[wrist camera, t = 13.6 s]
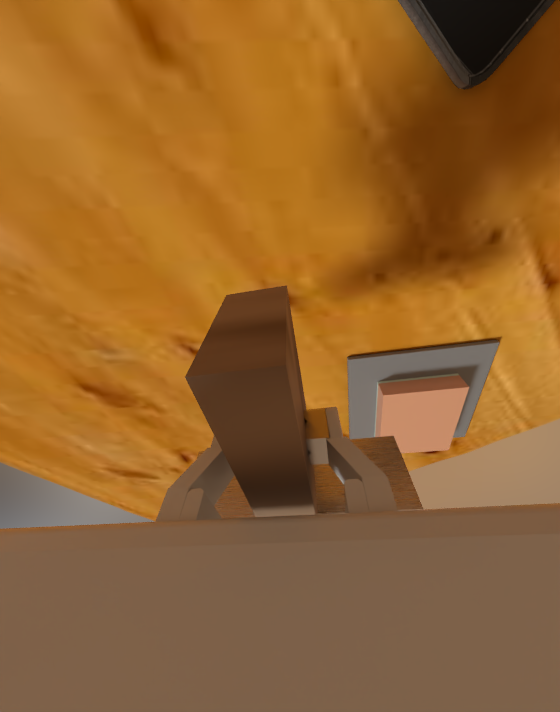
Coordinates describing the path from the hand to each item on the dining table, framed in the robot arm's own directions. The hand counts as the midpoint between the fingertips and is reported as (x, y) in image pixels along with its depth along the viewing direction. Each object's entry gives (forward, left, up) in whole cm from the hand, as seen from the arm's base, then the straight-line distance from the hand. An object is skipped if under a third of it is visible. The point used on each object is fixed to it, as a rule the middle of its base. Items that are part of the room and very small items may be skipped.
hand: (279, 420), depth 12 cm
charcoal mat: (+14, +12, -14) cm, 23 cm away
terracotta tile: (+10, +12, -12) cm, 20 cm away
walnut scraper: (0, 0, -2) cm, 2 cm away
